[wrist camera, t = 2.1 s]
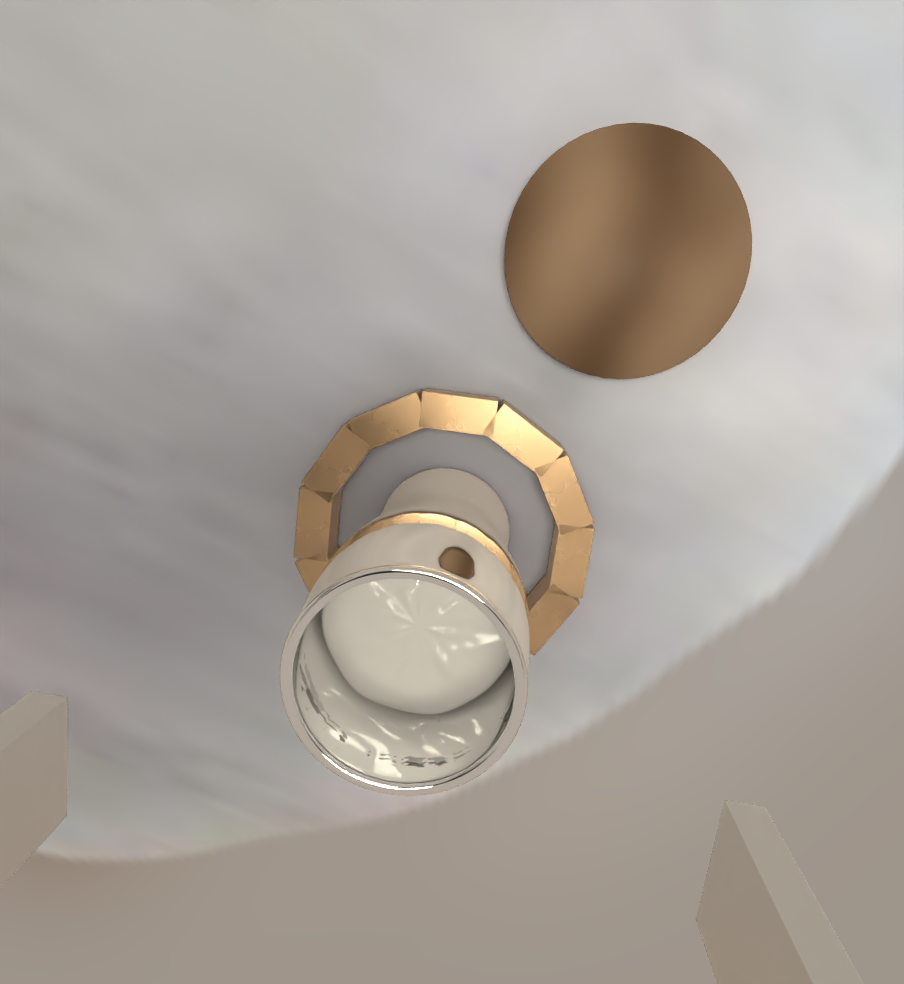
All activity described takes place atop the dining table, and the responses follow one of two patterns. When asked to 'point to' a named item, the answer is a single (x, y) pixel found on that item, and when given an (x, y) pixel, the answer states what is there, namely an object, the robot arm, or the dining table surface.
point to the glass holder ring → (467, 416)
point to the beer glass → (414, 643)
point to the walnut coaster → (628, 251)
